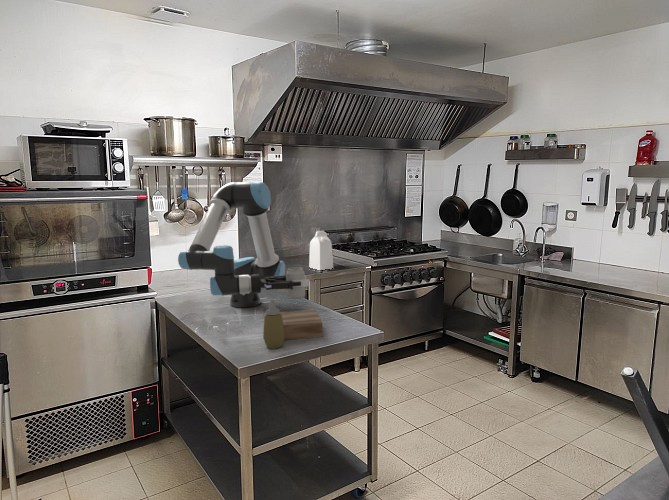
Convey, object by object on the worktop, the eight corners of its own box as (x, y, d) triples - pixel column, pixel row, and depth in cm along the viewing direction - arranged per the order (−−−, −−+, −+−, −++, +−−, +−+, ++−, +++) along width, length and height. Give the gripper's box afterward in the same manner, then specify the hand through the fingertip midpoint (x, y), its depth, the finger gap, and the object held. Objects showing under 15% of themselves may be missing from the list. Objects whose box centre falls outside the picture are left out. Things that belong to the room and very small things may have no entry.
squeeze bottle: (273, 351, 174) (271, 303, 171) (259, 346, 179) (256, 300, 177) (289, 345, 180) (287, 299, 177) (275, 341, 185) (273, 295, 183)
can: (305, 294, 198) (304, 266, 196) (305, 299, 190) (304, 269, 189) (287, 295, 198) (286, 266, 196) (286, 299, 190) (285, 270, 188)
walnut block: (274, 326, 203) (273, 312, 203) (316, 323, 207) (315, 309, 206) (277, 340, 186) (276, 325, 185) (322, 336, 189) (322, 322, 188)
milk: (322, 266, 334) (321, 229, 330) (333, 268, 326) (332, 230, 322) (309, 269, 326) (307, 231, 322) (320, 271, 318) (319, 232, 314)
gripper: (250, 287, 200) (304, 284, 204) (251, 299, 180) (311, 295, 185) (249, 270, 199) (304, 267, 203) (250, 280, 179) (310, 276, 183)
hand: (307, 280), depth 194 cm, fingers closed on can, 7 cm apart
